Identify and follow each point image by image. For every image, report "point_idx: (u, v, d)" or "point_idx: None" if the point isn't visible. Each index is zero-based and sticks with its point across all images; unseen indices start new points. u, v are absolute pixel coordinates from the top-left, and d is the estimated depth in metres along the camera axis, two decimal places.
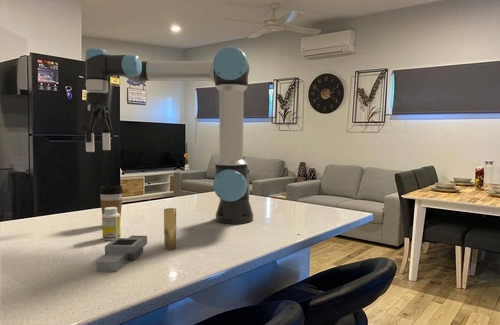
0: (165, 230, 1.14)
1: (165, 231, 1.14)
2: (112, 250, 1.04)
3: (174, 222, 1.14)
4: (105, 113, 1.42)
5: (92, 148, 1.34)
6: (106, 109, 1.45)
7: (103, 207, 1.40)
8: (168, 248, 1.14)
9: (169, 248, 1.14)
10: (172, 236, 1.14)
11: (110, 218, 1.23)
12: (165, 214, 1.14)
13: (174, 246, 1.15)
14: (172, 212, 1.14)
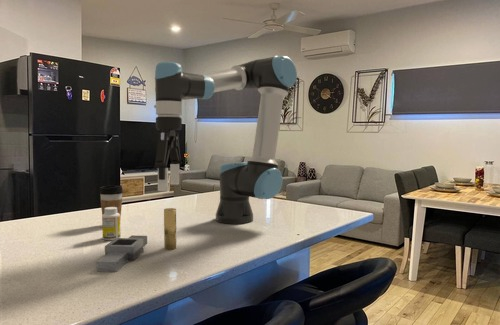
0: (165, 230, 1.14)
1: (165, 231, 1.14)
2: (112, 250, 1.04)
3: (174, 222, 1.14)
4: (176, 141, 1.16)
5: (166, 187, 1.07)
6: (176, 135, 1.19)
7: (103, 207, 1.40)
8: (168, 248, 1.14)
9: (169, 248, 1.14)
10: (172, 236, 1.14)
11: (110, 218, 1.23)
12: (165, 214, 1.14)
13: (174, 246, 1.15)
14: (172, 212, 1.14)
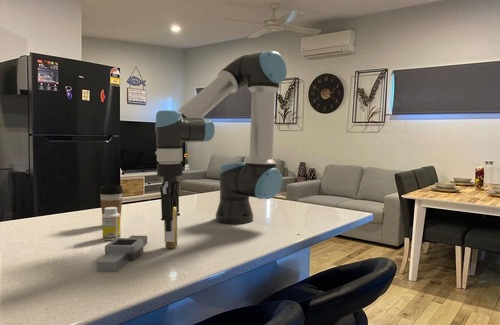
0: None
1: None
2: (112, 250, 1.04)
3: (175, 220, 1.14)
4: (177, 188, 1.17)
5: (172, 237, 1.13)
6: None
7: (103, 207, 1.40)
8: (169, 246, 1.14)
9: (170, 246, 1.14)
10: None
11: (110, 218, 1.23)
12: None
13: (175, 244, 1.15)
14: None
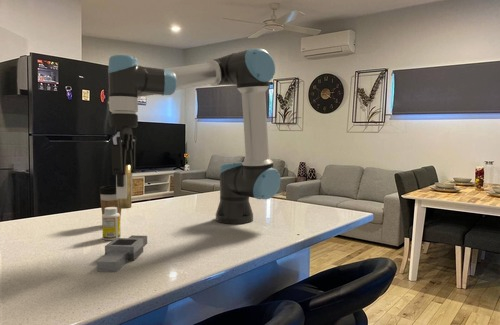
0: None
1: None
2: (112, 250, 1.04)
3: (128, 178, 1.06)
4: (132, 141, 1.08)
5: (124, 194, 1.05)
6: (133, 138, 1.11)
7: (103, 207, 1.40)
8: (121, 206, 1.06)
9: (123, 206, 1.06)
10: None
11: (110, 218, 1.23)
12: None
13: (128, 205, 1.06)
14: None
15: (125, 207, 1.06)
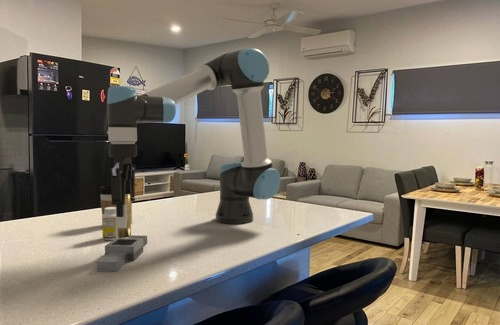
0: None
1: None
2: (112, 250, 1.04)
3: (127, 208, 1.06)
4: (131, 170, 1.09)
5: (124, 224, 1.05)
6: (132, 166, 1.12)
7: (103, 207, 1.40)
8: (121, 236, 1.06)
9: (122, 236, 1.06)
10: None
11: (111, 218, 1.23)
12: None
13: (128, 234, 1.07)
14: (125, 197, 1.06)
15: (125, 236, 1.06)
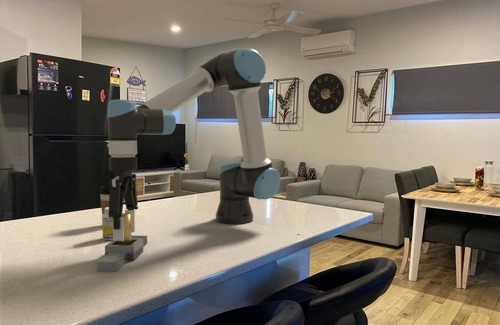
0: None
1: None
2: (112, 250, 1.04)
3: (128, 228, 1.07)
4: (132, 182, 1.09)
5: (121, 236, 1.03)
6: (133, 176, 1.12)
7: (103, 207, 1.40)
8: None
9: None
10: (126, 244, 1.07)
11: (111, 218, 1.23)
12: None
13: None
14: (125, 217, 1.06)
15: None
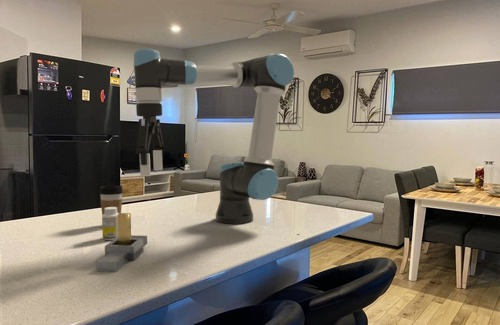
0: (118, 237, 1.07)
1: (118, 238, 1.07)
2: (112, 250, 1.04)
3: (128, 228, 1.07)
4: (158, 127, 1.18)
5: (148, 172, 1.10)
6: (157, 122, 1.21)
7: (103, 207, 1.40)
8: None
9: None
10: (126, 244, 1.07)
11: (110, 218, 1.23)
12: (118, 220, 1.06)
13: None
14: (125, 217, 1.06)
15: None
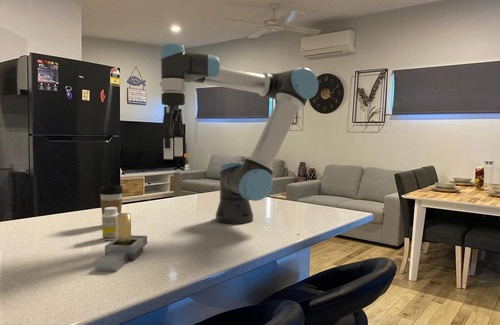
0: (118, 237, 1.07)
1: (118, 238, 1.07)
2: (112, 250, 1.04)
3: (128, 228, 1.07)
4: (180, 116, 1.28)
5: (171, 155, 1.20)
6: (179, 111, 1.31)
7: (103, 207, 1.40)
8: None
9: None
10: (126, 244, 1.07)
11: (110, 218, 1.23)
12: (118, 220, 1.06)
13: None
14: (125, 217, 1.06)
15: None
